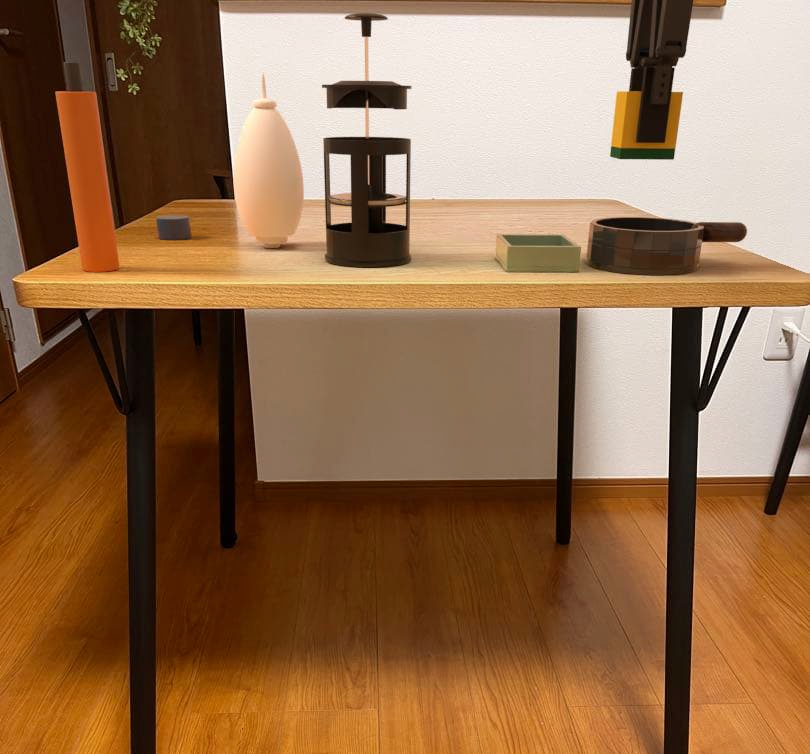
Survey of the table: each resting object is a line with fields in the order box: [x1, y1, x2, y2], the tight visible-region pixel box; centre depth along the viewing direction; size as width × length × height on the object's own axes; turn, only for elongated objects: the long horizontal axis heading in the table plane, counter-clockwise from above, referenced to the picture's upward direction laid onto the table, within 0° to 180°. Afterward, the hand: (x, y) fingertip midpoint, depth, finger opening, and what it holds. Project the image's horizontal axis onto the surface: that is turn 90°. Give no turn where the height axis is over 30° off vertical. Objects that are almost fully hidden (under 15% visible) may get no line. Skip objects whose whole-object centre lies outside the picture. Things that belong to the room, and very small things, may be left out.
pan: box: [586, 216, 704, 276], centre depth 93 cm, size 12×12×4 cm
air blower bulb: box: [233, 72, 305, 249], centre depth 98 cm, size 8×8×18 cm
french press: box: [321, 12, 412, 268], centre depth 90 cm, size 12×9×23 cm
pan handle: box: [691, 221, 748, 243], centre depth 93 cm, size 6×2×2 cm, turn 92°
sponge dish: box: [494, 233, 582, 273], centre depth 93 cm, size 8×8×2 cm
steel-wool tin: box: [155, 214, 192, 241], centre depth 108 cm, size 4×4×2 cm
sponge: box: [609, 90, 684, 161], centre depth 87 cm, size 6×4×6 cm
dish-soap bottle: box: [55, 61, 120, 273], centre depth 85 cm, size 4×4×18 cm
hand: (643, 140), depth 88 cm, fingers closed on sponge, 4 cm apart
